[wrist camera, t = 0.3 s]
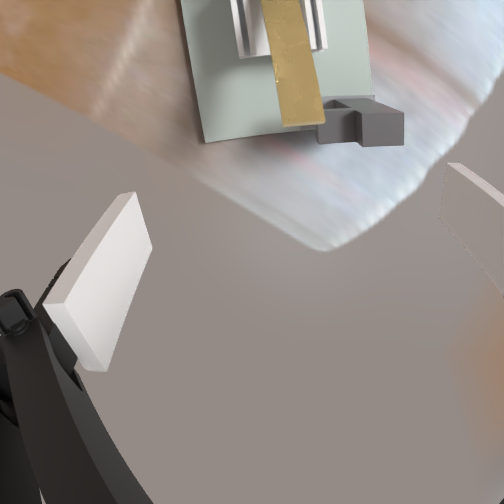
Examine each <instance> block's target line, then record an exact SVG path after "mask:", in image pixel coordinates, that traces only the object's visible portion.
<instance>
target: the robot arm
mask: <svg viewBox="0 0 504 504" xmlns="http://www.w3.org/2000/svg"><path fill="white" fill-rule="evenodd" d="M438 219H439V220H440V221H441V222H442V223H443V224H444V225H445V226H446V227H447V228H448V230H449V231H450V232H451V233H452V234H453V235H454V236H455V237H456V238H457V240H458V241H459V242H460V243H461V244H462V245H463V246H464V248H465V249H466V250H467V251H468V252H469V254H470V255H471V256H472V257H473V258H474V260H475V261H476V262H477V263H478V264H479V266H480V267H481V268H482V269H483V271H484V272H485V273H486V274H487V276H488V277H489V278H490V280H491V281H492V282H493V283H494V285H495V286H496V287H497V289H498V290H499V291H500V292H501V294H502V295H503V297H504V195H503V194H502V193H500V192H499V191H498V190H496V189H495V188H494V187H493V186H491V185H490V184H489V183H487V182H486V181H484V180H483V179H482V178H480V177H479V176H478V175H476V174H475V173H473V172H472V171H470V170H469V169H468V168H466V167H465V166H463V165H462V164H460V163H446V169H445V179H444V185H443V193H442V199H441V206H440V212H439V218H438ZM151 251H152V245H151V242H150V239H149V235H148V233H147V229H146V226H145V223H144V219H143V216H142V213H141V210H140V206H139V203H138V199H137V195H136V192H129V193H125V194H119V195H118V196H117V198H116V199H115V200H114V201H113V203H112V204H111V205H110V206H109V208H108V209H107V210H106V212H105V213H104V214H103V215H102V217H101V218H100V220H99V221H98V222H97V223H96V225H95V226H94V228H93V229H92V230H91V232H90V233H89V234H88V236H87V237H86V239H85V240H84V241H83V243H82V244H81V246H80V247H79V249H78V250H77V251H76V253H75V254H74V256H73V257H72V258H70V259H69V260H68V261H67V262H66V263H65V264H64V265H62V266H61V267H60V269H59V270H58V271H57V273H56V274H55V276H54V279H52V281H51V282H50V284H49V287H47V288H46V290H45V291H44V293H43V295H42V296H41V298H40V299H39V301H38V303H37V304H36V306H35V308H34V309H33V308H32V306H31V304H30V303H29V301H28V299H27V298H26V296H25V294H24V293H23V291H22V290H20V289H14V290H10V291H8V292H5V293H4V294H2V295H1V296H0V334H1V335H2V336H0V504H42V501H41V496H40V490H41V493H42V495H43V498H44V500H45V503H46V504H153V502H152V501H151V500H150V498H149V497H148V495H147V494H146V493H145V491H144V490H143V488H142V487H141V485H140V484H139V482H138V481H137V479H136V478H135V476H134V475H133V473H132V472H131V470H130V469H129V467H128V466H127V464H126V462H125V461H124V459H123V458H122V456H121V454H120V453H119V451H118V449H117V448H116V446H115V444H114V442H113V441H112V439H111V437H110V436H109V434H108V432H107V430H106V428H105V427H104V425H103V423H102V421H101V419H100V417H99V415H98V413H97V411H96V409H95V407H94V406H93V404H92V402H91V400H90V398H89V396H88V393H87V391H86V389H85V387H84V385H83V383H82V381H81V378H80V376H79V374H78V373H77V372H76V370H75V369H74V366H75V364H76V361H77V359H78V360H79V361H80V362H81V364H82V365H83V366H84V368H85V369H86V370H87V371H106V372H107V370H108V367H109V364H110V360H111V358H112V354H113V352H114V348H115V346H116V343H117V340H118V337H119V334H120V331H121V328H122V326H123V323H124V320H125V317H126V314H127V312H128V309H129V306H130V303H131V301H132V298H133V296H134V293H135V290H136V288H137V285H138V283H139V280H140V278H141V275H142V273H143V270H144V268H145V265H146V263H147V260H148V258H149V255H150V253H151ZM39 488H40V490H39ZM500 504H504V499H503V500H502V501H501V502H500Z"/></svg>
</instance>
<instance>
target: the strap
mask: <svg viewBox="0 0 504 504" xmlns="http://www.w3.org/2000/svg"><path fill="white" fill-rule="evenodd" d="M260 3H261V7H262V12H263V18H264V23H265V28H266V33H267V38H268V44H269V49H270V55H271V60H272V66H273V72H274V77H275V83H276V89H277V95H278V101H279V108H280V114H281V120H282V127H292V126H303V125H315V124H324V123H325V121H326V120H325V115H324V109H323V104H322V99H321V94H320V89H319V84H318V79H317V74H316V70H315V65H314V61H313V56H312V52H311V48H310V43H309V39H308V35H307V31H306V27H305V23H304V19H303V16H302V12H301V8H300V4H299V1H298V0H260Z"/></svg>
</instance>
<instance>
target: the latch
mask: <svg viewBox="0 0 504 504" xmlns="http://www.w3.org/2000/svg"><path fill="white" fill-rule="evenodd" d="M324 115H325V120H326V121H325V123H324V124H315V126H316V139H317V142H318V143H319V144H330V143H344V142H357V143H359V144H360V145H361V146H362V147H374V146H401V145H404V113H403V112H400V111H398V110H396V109H393V108H391V107H389V106H386V105H384V104H381V103H379V102H376V101H373V100H371V99H368V98H356V99H334V109H324Z"/></svg>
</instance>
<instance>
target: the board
mask: <svg viewBox="0 0 504 504" xmlns="http://www.w3.org/2000/svg"><path fill="white" fill-rule="evenodd" d="M298 1H299V4H300V8H301V12H302V16H303V19H304V23H305V27H306V31H307V35H308V39H309V43H310V48H311V52H312V56H313V61H314V65H315V70H316V74H317V79H318V84H319V89H320V94H321V99H322V104H323V109H334V99H356V98H368V99H371V100H373V101H375V95H372V86H371V71H370V59H369V48H368V38H367V29H366V21H365V13H364V6H363V0H298ZM181 6H182V12H183V19H184V25H185V31H186V37H187V43H188V49H189V55H190V61H191V66H192V72H193V78H194V84H195V89H196V95H197V100H198V106H199V111H200V117H201V122H202V128H203V133H204V138H205V143H208V142H214V141H221V140H227V139H234V138H241V137H249V136H256V135H265V134H273V133H283V132H292V131H303V130H315V129H316V126H315V125H303V126H292V127H282V120H281V114H280V108H279V101H278V95H277V89H276V83H275V77H274V72H273V66H272V60H271V55H270V49H269V44H268V38H267V33H266V28H265V23H264V18H263V12H262V7H261V3H260V0H181Z"/></svg>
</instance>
